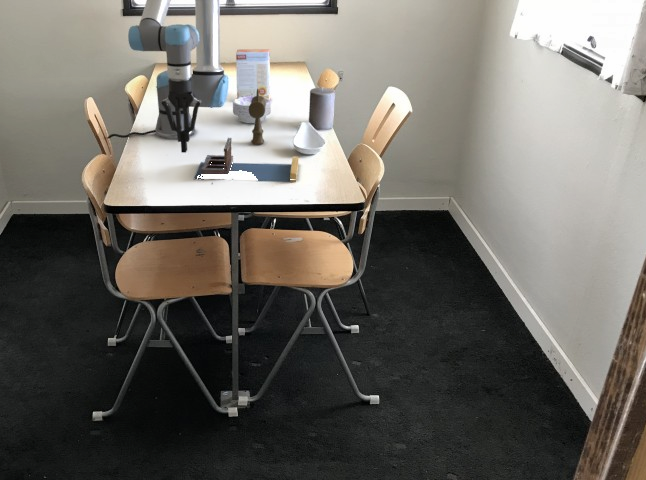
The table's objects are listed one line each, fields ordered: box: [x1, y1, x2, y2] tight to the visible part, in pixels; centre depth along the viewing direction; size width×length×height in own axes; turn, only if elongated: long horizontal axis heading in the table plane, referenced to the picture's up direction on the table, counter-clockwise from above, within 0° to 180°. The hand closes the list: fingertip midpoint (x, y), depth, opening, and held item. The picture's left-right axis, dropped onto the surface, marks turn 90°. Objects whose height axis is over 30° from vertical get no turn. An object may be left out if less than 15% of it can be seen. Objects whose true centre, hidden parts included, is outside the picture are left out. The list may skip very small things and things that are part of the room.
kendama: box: [249, 89, 266, 146], centre depth 258 cm, size 6×10×20 cm, turn 175°
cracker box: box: [235, 48, 271, 100], centre depth 305 cm, size 14×6×21 cm, turn 84°
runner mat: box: [193, 161, 299, 183], centre depth 240 cm, size 34×16×1 cm, turn 84°
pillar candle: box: [308, 86, 336, 131], centre depth 275 cm, size 10×10×15 cm
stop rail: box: [289, 156, 300, 183], centre depth 237 cm, size 2×16×3 cm, turn 174°
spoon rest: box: [292, 121, 327, 156], centre depth 258 cm, size 24×12×7 cm, turn 5°
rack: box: [201, 137, 234, 177], centre depth 238 cm, size 9×14×10 cm, turn 174°
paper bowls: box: [232, 96, 272, 124], centre depth 285 cm, size 15×15×8 cm
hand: (184, 151), depth 238 cm, fingers closed
